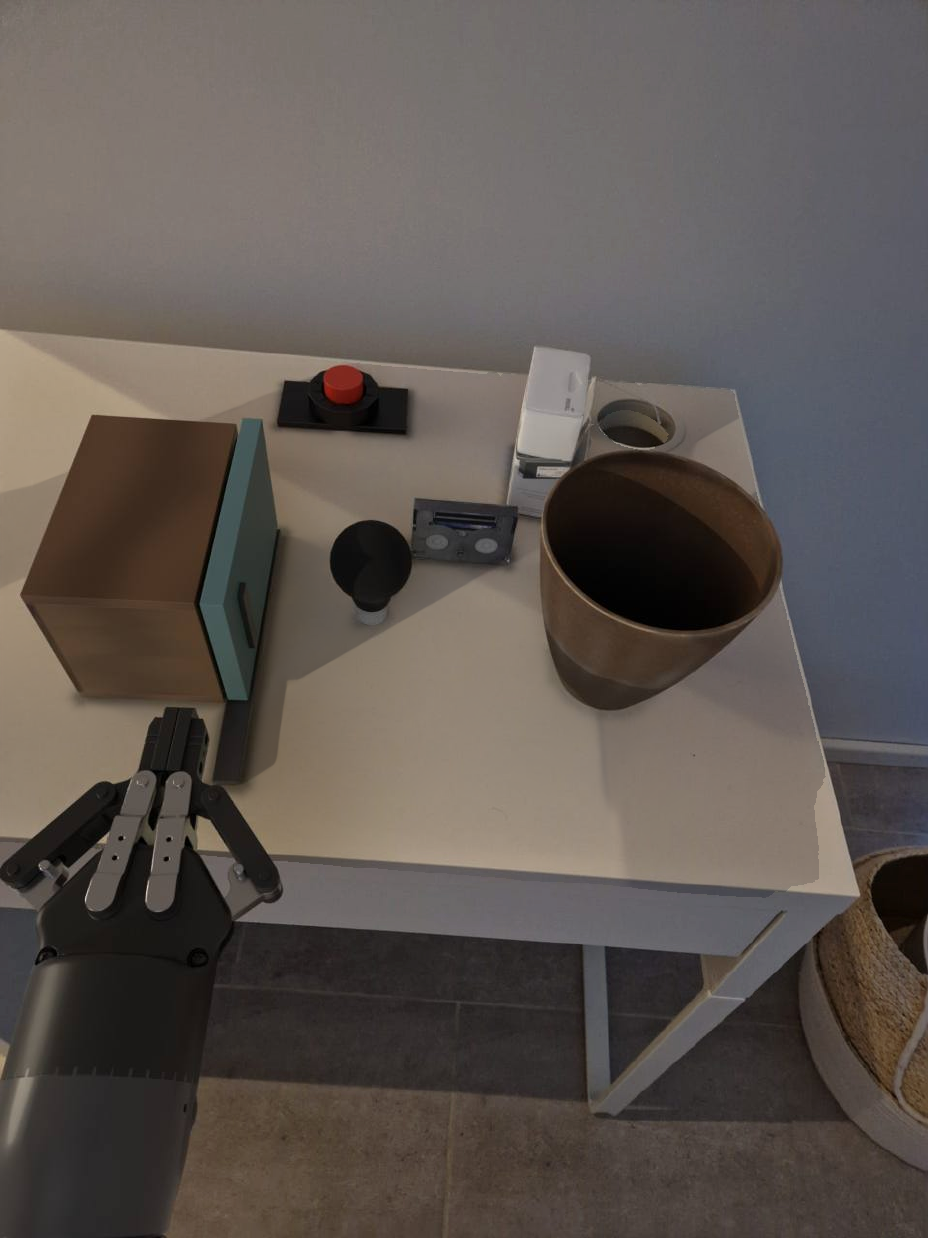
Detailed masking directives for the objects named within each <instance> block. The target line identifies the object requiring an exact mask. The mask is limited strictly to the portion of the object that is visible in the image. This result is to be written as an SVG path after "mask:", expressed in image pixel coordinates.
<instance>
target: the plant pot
mask: <svg viewBox="0 0 928 1238" xmlns="http://www.w3.org/2000/svg"><path fill="white" fill-rule="evenodd" d="M540 522H541V523H540V540H539V542H540V544H539V585H540V601H541V610H542V611H541V612H542V618H543V624H544V625H543V626H544V630H545V635H546V641H547V645H548V648H549V652H550V655H551V658H552V661H553V665H554V668H555V671H556V673H557V676H558V678H559V680H560V682H561V684H562V686H563V688H564V689H565V691H567V692H568V694H570V696H572V697H573V699H576V701H578V702H579V703H582V704H584V705H586V706H588V707H590V708H593V709H595V710H596V709H597V710H601V711H620V710H624V709H627V708H630V707H632V706H636V705H638V704H640V703H642V702H643V703H644V702H646V701H647V700H649V699H651V698H654V697H655V696H657V695H659V694H661V693H663V692H665V691H666V690H668V689H670V688H672V687H673V686H675V685H676V684H679V683H680V682H681V681H683V680H684V679H686V678H687V677H689V676H691V675H692V674H693V673H695V672H696V671H698V670H699V669H700V668H702V667H703V666H704V665H705V664H707V663H708V662H709V661H710V660H712V659H713V658H714V657H716V656H717V655H718V654H719V653H720V652H721V651H722V650H724V649H725V648H726V647H727V646H729V644H731V642H732V641H734V640H735V639H736V638H737V637H738V636H739V635H740V634H741V633H742V632H743V631H744V630H745V629H747V627H748V626H749V625H750V624H751V623H752V622H753V621H754V620H755V619H756V618H757V617H758V616H759V615H760V614H761V613H762V612H763V611H764V610H765V609H766V608H767V607H768V605H769V604H770V603H771V601H772V600H773V598H774V597H775V595H776V594H777V592H778V589H779V587H780V585H781V581H782V577H783V572H784V571H783V569H784V557H783V549H782V545H781V544H782V543H781V541H780V538H779V535H778V533H777V530H776V528H775V526H774V524H773V522H772V520H771V518H770V517H769V515H768V514H767V513H766V512H765V510H764V509H763V507H762V506H761V505H760V504H759V502H758V501H757V500H756V499H755V498H754V497H753V496H752V495H750V493H748V491H746V490H745V489H744V488H743V487H742V486H740V485H739V484H738V483H736V482H735V481H734V480H732V479H731V478H730V477H728V476H726V475H725V474H723V473H721V472H720V471H718V470H716V469H714V468H712V467H710V466H708V465H706V464H704V463H701V462H699V461H697V460H694V459H691V458H688V457H685V456H681V455H677V454H673V453H669V452H664V451H658V450H646V449H625V450H624V449H623V450H617V451H611V452H606V453H602V454H598V455H594V456H593V457H590V458H588V459H587V458H586V460H585V461H583V462H581V463H579V464H577V465H576V466H574V467H572V468H571V469H570V470H568V471H567V472H566V473H565V474H564V475H562V476H561V477H560V478H559V480H558V481H557V482H556V483H555V484H554V486H553V487H552V489H551V490H550V492H549V494H548V496H547V498H546V500H545V504H544V507H543V512H542V518H541V521H540Z"/></svg>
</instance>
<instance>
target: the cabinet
mask: <svg viewBox="0 0 928 1238" xmlns="http://www.w3.org/2000/svg"><path fill="white" fill-rule="evenodd" d="M238 435H239V430H238V427H237V423H232V422H231V423H230V422H216V421H214V422H213V421H199V420H183V419H182V420H181V419H170V418H169V419H167V418H152V417H151V418H150V417H136V416H118V415H105V414H91V415H90V418H89V421H88V423H87V425H86V428H85V430H84V433H83V436H82V438H81V441H80V443H79V446H78V448H77V451H76V452H75V456H74V458H73V461H72V463H71V466H70V468H69V470H68V473H67V475H66V477H65V480H64V484H63V486H62V488H61V491H60V493H59V496H58V498H57V501H56V503H55V506H54V508H53V511H52V513H51V516H50V518H49V521H48V523H47V526H46V528H45V531H44V533H43V536H42V538H41V541H40V543H39V546H38V549H37V551H36V553H35V556H34V559H33V561H32V564H31V566H30V568H29V571H28V573H27V576H26V578H25V581H24V584H23V586H22V588H21V591H20V593H19V597H20V598H21V600H22V602H23V603H24V605H25V606H26V608H27V610H28V612H29V613H30V615H31V617H32V618H33V620H34V622H35V623H36V625H37V627H38V629H39V630H40V632H41V633H42V635H43V637H44V638H45V640H46V642H47V643H48V645H49V646H50V648H51V650H52V652H53V653H54V655H55V657H56V659H57V660H58V662H59V663H60V665H61V667H62V668H63V670H64V672H65V673H66V675H67V677H68V678H69V680H70V681H71V683H72V685H73V687H74V688H75V690H76V692H77V693H78V695H79V697H80V698H82V699H83V698H84V699H108V700H109V699H110V700H111V699H114V700H115V699H116V700H136V701H137V700H140V701H169V702H170V701H171V702H193V703H195V702H197V703H221V704H223V703H225V706H224V709H223V710H224V711H223V716H222V721H221V727H220V732H219V737H218V742H217V748H216V752H215V759H214V764H213V769H212V774H211V779H210V780H211V785H219V786H234V787H235V786H237V787H238V786H240V785H241V781H242V780H241V779H242V774H243V768H244V763H245V757H246V750H247V743H248V738H249V733H250V726H251V720H252V715H253V714H252V713H253V708H254V702H255V695H256V690H257V683H258V679H259V672H260V666H261V660H262V653H263V649H264V643H265V642H264V641H265V635H266V631H267V623H268V618H269V612H270V611H269V610H270V605H271V599H272V593H273V587H274V580H275V577H276V576H275V575H276V570H277V569H276V568H277V563H278V556H279V550H280V544H281V538H282V529H281V528H277V534H276V540H275V546H274V551H273V557H272V563H271V569H270V575H269V581H268V587H267V592H266V598H265V604H264V610H263V616H262V622H261V628H260V633H259V639H258V645H257V651H256V657H255V663H254V669H253V674H252V680H251V686H250V692H249V698H248V700H229V699H228V697H227V694H226V690H225V687H224V684H223V680H222V677H221V674H220V670H219V667H218V664H217V660H216V657H215V654H214V650H213V647H212V644H211V640H210V637H209V634H208V630H207V627H206V624H205V621H204V617H203V614H202V611H201V607H200V600H201V596H202V592H203V587H204V583H205V579H206V574H207V570H208V566H209V561H210V557H211V553H212V548H213V544H214V540H215V535H216V531H217V527H218V522H219V518H220V514H221V509H222V505H223V501H224V496H225V492H226V487H227V483H228V479H229V474H230V470H231V466H232V461H233V457H234V453H235V448H236V444H237V440H238Z"/></svg>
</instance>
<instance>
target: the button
mask: <svg viewBox="0 0 928 1238" xmlns="http://www.w3.org/2000/svg"><path fill="white" fill-rule="evenodd" d="M326 370H327V371H326V372H325V374H324V392H325V395H326V397H327V398H328V399H329V400H330V401H332V402H334V403H342V404H350V403H353V402H356V401H358V400H360V399H361V397H362V395H363V376H362V373H361V372H360V371H359V370H360V369H359V368H356V367H354V366H352V365H346V364H339V365H334V366H331V367H329V368H328V369H326Z"/></svg>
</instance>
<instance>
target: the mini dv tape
mask: <svg viewBox="0 0 928 1238" xmlns="http://www.w3.org/2000/svg"><path fill="white" fill-rule="evenodd" d="M412 509H413V510H412V526H411V528H412V529H411V544H410V550H411V553H412V560H413V559H414V560H427V561H441V562H453V563H454V562H455V563H465V564H479V565H494V566H505V567H506V566H509V563H510V559H511V554H512V550H513V544H514V541H515V536H516V530H517V526H518V521H519V513H518V506H510V505H507V504H498V503H497V504H495V503H484V502H472V501H471V502H470V501H460V500H459V501H458V500H446V499H434V498H433V499H432V498H420V497H414V499H413V508H412Z"/></svg>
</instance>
